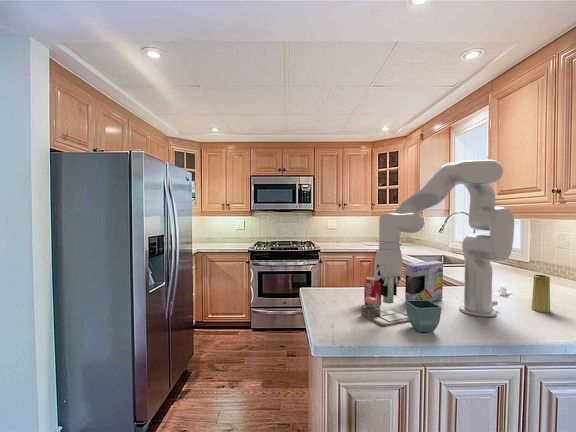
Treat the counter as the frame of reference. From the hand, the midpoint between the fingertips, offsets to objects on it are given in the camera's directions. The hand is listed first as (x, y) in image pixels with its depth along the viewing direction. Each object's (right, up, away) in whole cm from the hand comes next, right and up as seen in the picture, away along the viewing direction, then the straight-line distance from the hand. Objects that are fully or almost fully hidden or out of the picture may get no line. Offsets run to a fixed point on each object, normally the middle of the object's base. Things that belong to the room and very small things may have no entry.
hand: (388, 294), depth 114 cm
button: (-6, -7, +4) cm, 9 cm away
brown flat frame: (+1, -10, +3) cm, 10 cm away
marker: (0, -3, 0) cm, 3 cm away
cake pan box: (+23, -9, +23) cm, 34 cm away
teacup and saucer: (+69, -10, +32) cm, 77 cm away
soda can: (-1, -10, +17) cm, 20 cm away
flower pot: (+9, -10, -8) cm, 16 cm away
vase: (+67, -10, +12) cm, 68 cm away
